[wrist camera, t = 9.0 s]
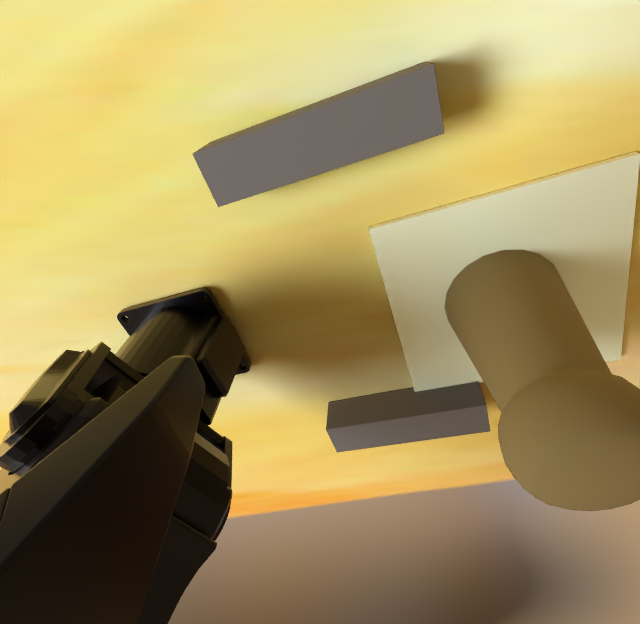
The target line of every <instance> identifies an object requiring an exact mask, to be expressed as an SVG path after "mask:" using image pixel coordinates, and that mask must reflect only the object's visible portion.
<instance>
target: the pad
mask: <svg viewBox="0 0 640 624" xmlns="http://www.w3.org/2000/svg"><path fill="white" fill-rule="evenodd" d="M639 165H640V153H637V152H632V153H629V154H625V155H622V156H618V157H614V158H611V159H607V160H604V161H600V162H597V163H593V164H590V165H586V166H583V167H579V168H575V169H572V170H568V171H565V172H561V173H558V174H554V175H551V176H547V177H544V178H540V179H536V180H533V181H529V182H526V183H522V184H519V185H515V186H512V187H508V188H504V189H501V190H497V191H494V192H490V193H487V194H483V195H480V196H476V197H473V198H469V199H465V200H462V201H458V202H455V203H451V204H448V205H444V206H441V207H437V208H434V209H430V210H426V211H423V212H419V213H416V214H412V215H409V216H405V217H402V218H398V219H394V220H391V221H387V222H384V223H380V224H377V225H373V226H370V227H368V230H369V233H370V237H371V240H372V244H373V247H374V251H375V255H376V258H377V262H378V265H379V269H380V272H381V276H382V279H383V283H384V286H385V290H386V293H387V297H388V300H389V304H390V307H391V311H392V314H393V318H394V321H395V325H396V328H397V332H398V335H399V339H400V342H401V346H402V349H403V353H404V356H405V360H406V363H407V367H408V370H409V374H410V377H411V381H412V384H413V388H414V391H415V392H417V391H423V390H429V389H435V388H441V387H447V386H453V385H459V384H464V383H470V382H476V381H478V383H484V382H483V380H482V378H481V377H480V375H479V373H478V371H477V370H476V368H475V366H474V364H473V363H472V361H471V359H470V358H469V356H468V354H467V352H466V351H465V349H464V347H463V346H462V344H461V342H460V340H459V339H458V337H457V335H456V334H455V332H454V330H453V328H452V327H451V325H450V323H449V321H448V319H447V315H446V311H445V308H444V307H445V300H446V293H447V291H448V289H449V287H450V285H451V283H452V281H453V279H454V278H455V277H456V276H457V275H458V274H459V273H460V272H461V271H462V270H463V269H464V268H465V267H466V266H467V265H469V264H470V263H472V262H474V261H475V260H477V259H479V258H481V257H482V256H484V255H488V254H491V253H494V252H498V251H501V250H526V251H530V252H533V253H537V254H540V255H542V256H543V257H545V258H546V259H547V260H549V261H550V262H551V263H553V264H554V266H555V268H556V269H557V271H558V273H559V275H560V276H561V278H562V280H563V282H564V284H565V286H566V288H567V290H568V292H569V294H570V295H571V297H572V299H573V301H574V303H575V305H576V307H577V309H578V311H579V313H580V315H581V317H582V318H583V320H584V322H585V324H586V326H587V328H588V330H589V332H590V334H591V336H592V338H593V339H594V341H595V343H596V345H597V347H598V349H599V351H600V353H601V355H602V357H603V359H604V361H605V362H609V361H615V360H621V353H622V342H623V332H624V322H625V311H626V301H627V290H628V280H629V269H630V259H631V249H632V238H633V228H634V217H635V207H636V196H637V186H638V176H639Z"/></svg>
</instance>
